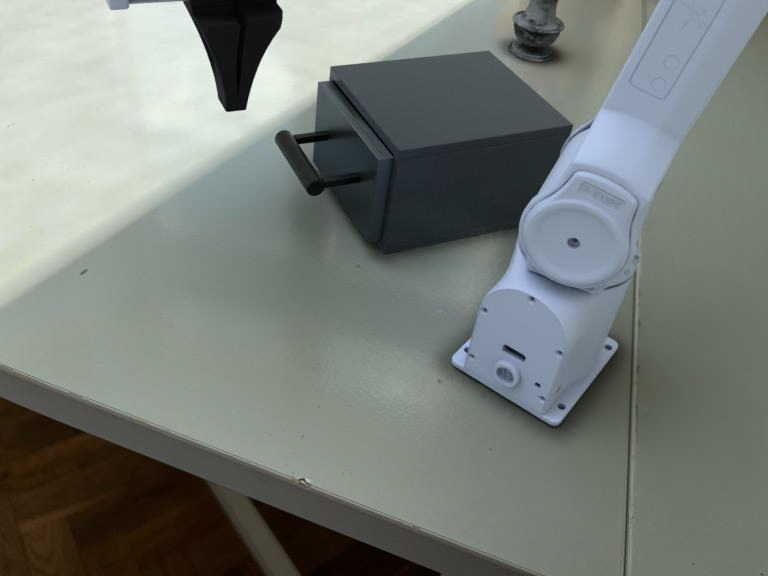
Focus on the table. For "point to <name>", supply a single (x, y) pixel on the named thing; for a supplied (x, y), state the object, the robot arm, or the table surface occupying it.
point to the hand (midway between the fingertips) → (232, 103)
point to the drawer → (343, 160)
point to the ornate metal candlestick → (536, 31)
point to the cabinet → (455, 143)
